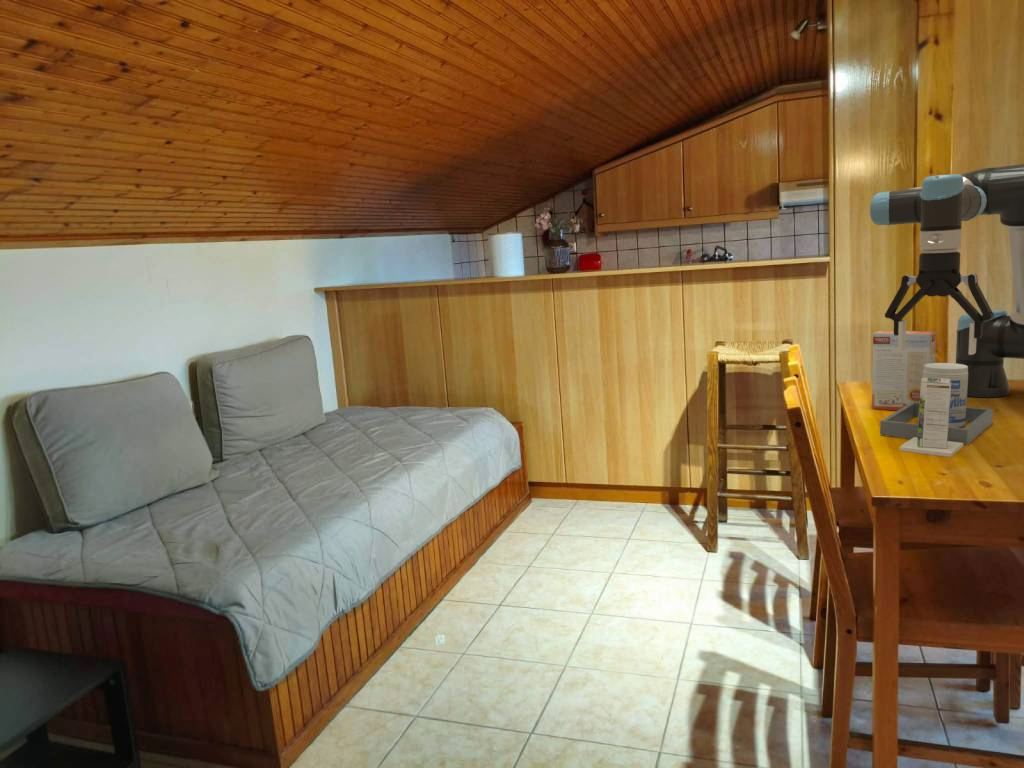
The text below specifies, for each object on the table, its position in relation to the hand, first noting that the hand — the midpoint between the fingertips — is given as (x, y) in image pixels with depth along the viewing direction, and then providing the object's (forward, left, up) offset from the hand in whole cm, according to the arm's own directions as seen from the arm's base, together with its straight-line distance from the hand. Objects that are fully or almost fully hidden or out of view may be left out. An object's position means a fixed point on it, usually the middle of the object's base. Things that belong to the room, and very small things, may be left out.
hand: (935, 352), depth 164 cm
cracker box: (-36, -17, -21) cm, 45 cm away
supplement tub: (-23, -4, -21) cm, 31 cm away
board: (0, 0, -21) cm, 21 cm away
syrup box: (0, 0, -21) cm, 21 cm away
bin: (-18, -4, -21) cm, 28 cm away
